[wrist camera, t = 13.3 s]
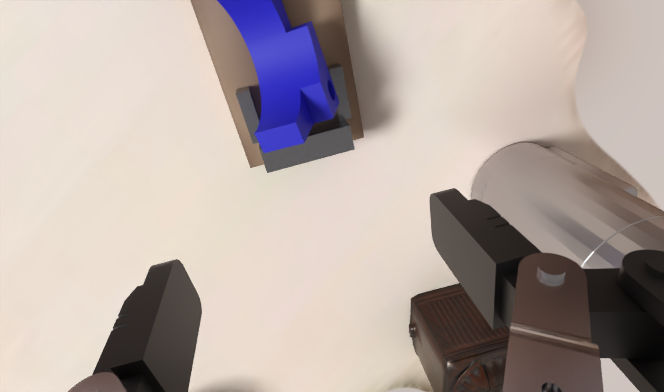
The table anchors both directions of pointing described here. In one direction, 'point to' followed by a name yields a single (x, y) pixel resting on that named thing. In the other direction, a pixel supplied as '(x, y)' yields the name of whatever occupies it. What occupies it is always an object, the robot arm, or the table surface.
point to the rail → (244, 91)
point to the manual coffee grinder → (457, 342)
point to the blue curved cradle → (284, 72)
